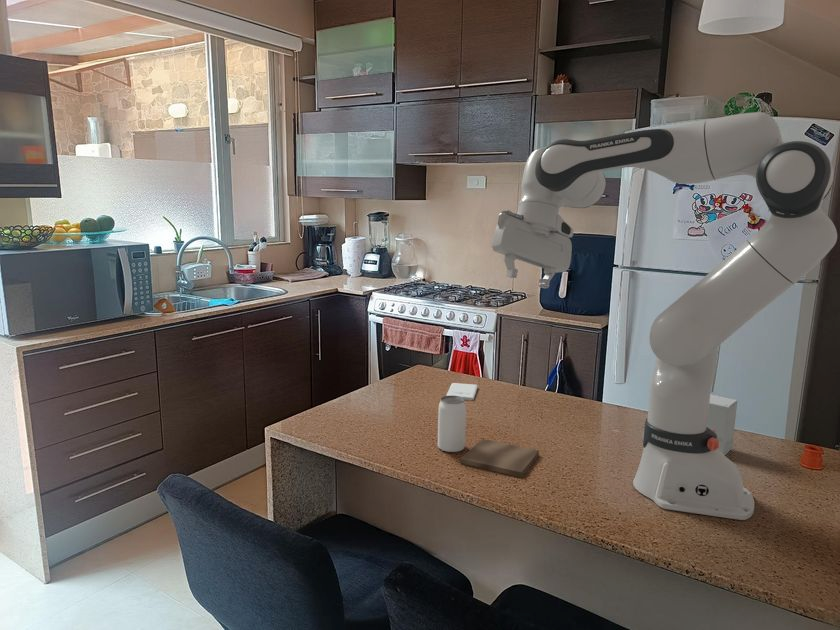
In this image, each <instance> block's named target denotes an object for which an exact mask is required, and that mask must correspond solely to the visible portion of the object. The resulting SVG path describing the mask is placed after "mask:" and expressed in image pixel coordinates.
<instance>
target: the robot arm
mask: <svg viewBox="0 0 840 630" xmlns="http://www.w3.org/2000/svg"><path fill="white" fill-rule="evenodd" d="M624 168H638V169H644V170H647V171H650V172H651V173H652V172H653V173H654V174H658V175H659V176H661V177H663V178H666V179H667V180H669V181H671V182H673V183H676V184H680V185H683V184H684V185H686V184H689V185H690V184H691V185H692V184H700V183H701V184H702V183H708V182H712V181H716V180H721V179H725V178H729V177H736V176H749V177H750V176H751V177H753V178H754V179H755V183H756V187H757V190H758V192H759V194H760V196H761V197H762V200H764V202H765V204H766V206H767V208H768V210H769V212H770V213H771V215H770V218H769V219H768V221H767V222H765V224H764V225H763V226H762V227H761V228H760V229H759V230H758V231H756V233H754V234H753V235H751V236H750V237H749V238H748V239H747V240H746V241H745V242H744V243H742V244H741V245H740V246H739V247H738V248H736V250H734V251H733V252H732V253H731V254H729V255H728V256H727V257H726V258H725V259H723V261H721V262H720V263H719V264H718V265H717V266H715V267H714V268H713V269H712V270H711V271H709V273H707V274H706V275H705V276H703V278H702V279H700V280H699V281H698V282H697V283H695V284H694V285H693V286H692V287H691V288H689V289H688V290H687V291H686V292H684V293H683V294H682V295H681V296H680V297H678V298H677V299H676V300H675V301H674V302H673V303H671V304H670V305H668V307H667V308H665V310H663V311H662V312H661V313H660V314H659V315H658V316H657V317H655V319H654V321H653V322H652V324H651V327H650V331H649V345H650V348H651V351H652V353H653V354H654V355H655V356H656V360H655V366H654V370H653V374H652V379H651V382H650V390H649V400H648V410H647V418H645V421H644V425H643V432H642V446H643V449H642V454H641V459H640V462H639V465H638V468H637V471H636V473H635V476H634V478H633V481H632V485H633V486H634V488H635V489H636V490H637V491H638V492H639V493H640V494H642V495H643V496H645V497H647V498H648V499H650V500H652V501H653V502H654V503H655V504H656V505H657V506H658V507H660V508H661V509H664V510H669V511H675V512H676V511H677V512H682V513H683V512H684V513H690V514H698V515H703V516H704V515H705V516H711V517H716V518H725V519H731V520H732V519H733V520H739V521H745V520H746V521H747V520H748V519H750V518H751V517H752V516H753V515H754V513H755V500H754V497H753V495H752V493H751V492H750V490H748V489H747V488H746V487H744V482H743V476H742V474H741V471H740V469H739V468H738V466H737V464H735V463H734V462H733V461H731V460H730V459H729V458H728V457H727V455H726V456H724V455H723V454H722V453H721V452H720V451H719V450H718V447H719V441H718V440H717V435H716V434H715V433H716V432H715V430H714V429H713V431H712V430H711V429H709V428H708V427H707V419H708V411H709V402H710V394H711V393H712V386H713V381H714V376H715V370H716V365H717V359H718V354H719V346H720V345H721V344H722V343H724V342H725V341H726V340H727V339H728V338H730V337H731V336H733V334H734V333H736V332H737V331H739V329H741V328H742V327H743V326H744V325H745V324H747V323H748V322H750V320H751V319H752V318H754V316H756V315H757V314H758V313H760V312H761V311H762V310H763V309H764V308H766V307H767V306H769V305H770V304H772V302H774V301H775V300H776V299H778V297H780V296H781V295H783V293H785V292H787V291H788V290H789V289H790V288H791V287H793V286H794V285H795V284H797V283H798V282H799V281H800V280H801V279H803V278H804V277H806V276H807V274H808V273H810V272H811V271H813V269H814V268H815V267H816V266H817V265H818V264H819V263H820V262H821V261H822V260H823V259H824V258H825V257H826V256H827V254H828V253H830V251H831V250H832V249H833V248H834V247H835V245H836V244H837V240H838V233H837V228H836V225H835V224H834V222H833V221H832V219H831V218H830V217H829V216H828V215H827V214H826V213H825V212H824V211H823V209H822V202H823V200H825V199H826V197H827V196H828V195H829V193H830V191H831V189H832V186H833V182H834V177H835V176H834V175H835V169H834V166H833V163H832V161H831V159H830V158H829V156H828V155H827V154H826V152H825V151H824V150H823V149H822V148H820V147H819V146H818V145H816V144H814V143H811V142H808V141H803V140H793V141H788V142H784V140H783V138H782V133H781V130H780V127H779V125H778V122H776V120H775V118H773V116H771V115H770V114H769V113H766V112H763V111H762V112H761V111H756V112H755V111H754V112H745V113H744V112H743V113H739V114H738V113H735V114H731V115H725V116H721V117H715V118H712V119H708V120H704V121H700V122H696V123H693V124H692V123H691V124H685V125H682V126H675V127H668V128H667V127H665V128H654V129H653V128H651V129H642V130H637V131H631V132H625V133H620V134H615V135H608V136H605V137H599V138H593V139H588V140H587V139H586V140H576V139H575V140H574V139H568V138H567V139H565V138H564V139H563V138H562V139H559V140H554V141H553V142H551V143H549V144H548V145H547V146H545V147H541V148H537V149H536V150H533V151H532V152H531V153H530V154H529V156H528V158H527V160H526V162H525V166H524V170H523V173H522V178H521V179H522V180H521V184H520V185H521V187H520V192H521V197H520V200H519V202H518V205H517V213H516V212H513V211H511V210H509V209H505V210H502V211H501V212H500V213H499V214H498V217H497V223H496V224H497V225H496V226H495V230H494V234H493V237H492V242H491V247H492V250H493V252H495V253H498V254H500V255H504V259H503V261H504V264H505V266H506V277H508V278H510V279H516V278H517V277H518V272H519V269H518V268H516V265H515V261H516V260H518V261H522V262H524V263H527V264H530V265H533V266H536V267H539V268H542V269H544V270H543V274H545V275H544V276H543V278H541V279H539V281H538V287H539V288H542V289H548V288H549V287H550V282H551V280H552V279H553V277H554V276H555V274H556V273H565V272H567V271H568V269H570V265H571V260H572V252H573V251H572V249H573V248H572V247H573V245H572V241H571V239H570V238H573V236H574V229H573V227H571V225H570V224H568V222H567V221H565V219H564V218H563V217H562V216H561V215H560V214H559V211H560V207H564V208H565V207H567V208H573V209H575V208H576V209H587V208H589V207H591V206H594V205H595V204H596V203H598V202H599V200H601V199H602V196H603V195H604V193H605V191H606V187H607V179H606V177H605V175H604V173H603V172H608V171H613V170H617V169H624ZM711 395H712V394H711Z"/></svg>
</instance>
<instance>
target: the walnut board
mask: <svg viewBox="0 0 840 630" xmlns="http://www.w3.org/2000/svg"><path fill="white" fill-rule="evenodd" d="M539 455H540V450H537V449H535V448H534V449H533V448H527V447H523V446H519V445H513V444H509V443H505V442H500V441H496V440H492V439H491V440H490V439H487V438H486V439H485V438H482V439H480V440H479V441H478V442H477V443H476V444H475V445H474V446H472V447H471V449H469V451H467V452H466V453H465V454H464V455H463V456H462V457H461V458H460V464H461V465H466V466H469V465H470V466H469V467H473V466H474V468H478V469H483V470H487V471H491V472H495V473H499V474H504V475H509V476H513V477H516V478H522V477H523V476H524V475H525V474H526V472H527V471H528V470H529V468H531V466H532V465H533V464H534V462H535V461H536V459H538V457H539Z"/></svg>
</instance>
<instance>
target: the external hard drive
mask: <svg viewBox="0 0 840 630" xmlns="http://www.w3.org/2000/svg"><path fill="white" fill-rule="evenodd" d="M478 387H479V386H478V384H474V383H473V384H472V383H471V384H470V383H461V382H460V383H459V382H452V383H451V384H450V387H449V388H448V391H447V393H446V395H445V396H459V397H462V398H464V399H465V401H471V400H473V401H474V400H475V397H476V394H477V391H478Z"/></svg>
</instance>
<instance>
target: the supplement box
mask: <svg viewBox="0 0 840 630" xmlns="http://www.w3.org/2000/svg"><path fill="white" fill-rule="evenodd" d="M737 409H738V399H734V398H730V397H723V396H720V395H716V394H710V402H709V411H708V419H707V427H708V428H709V429H711V430H712V431H713V429H714V430H715V432H716V433H715V434H716V435H717V440H718V441H719V447H718V450H719V451H720V452H721V453H722V454H723V455H724V456H725V455H726V454H727V453H728V452H729V451H730V450H731V449H732V450H733V445H734V444H733V442H734V435H735V426H736V425H735V424H736V417H737ZM732 450H731V451H732ZM731 451H730V452H731ZM730 452H729V453H730ZM729 453H728V454H729ZM728 454H727V455H728ZM727 455H726V456H727Z"/></svg>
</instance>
